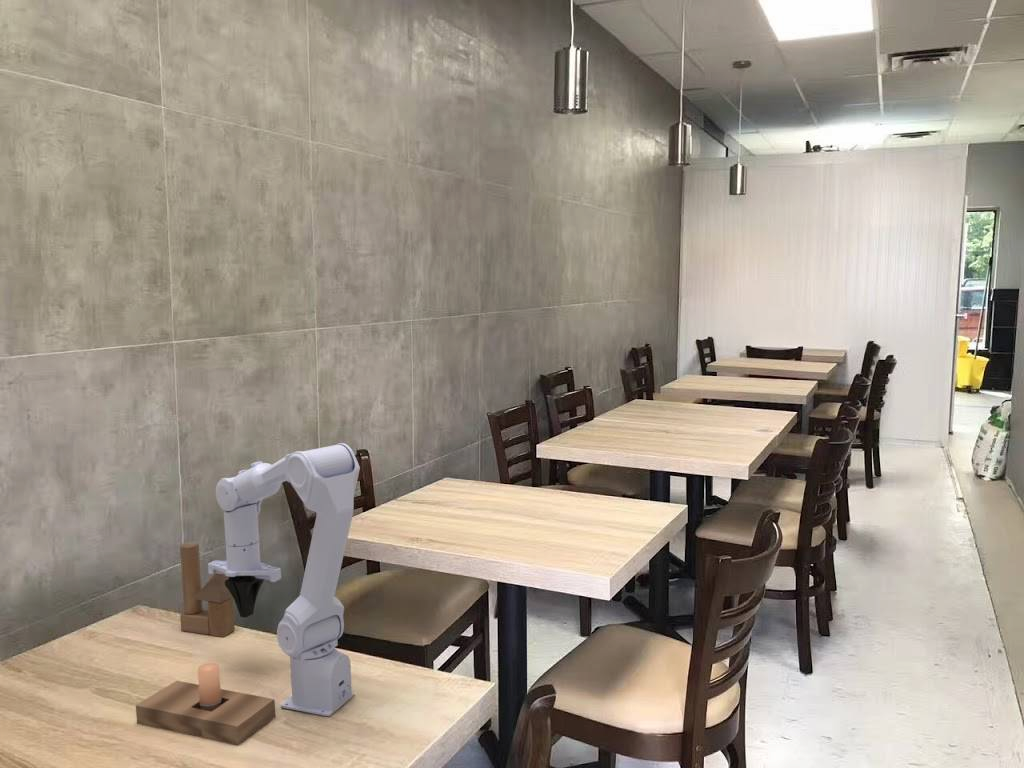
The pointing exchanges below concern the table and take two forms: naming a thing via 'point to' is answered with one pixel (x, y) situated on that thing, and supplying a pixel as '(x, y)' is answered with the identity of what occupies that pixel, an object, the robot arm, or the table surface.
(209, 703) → the peg
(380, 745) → the table surface
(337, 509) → the robot arm
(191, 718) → the board
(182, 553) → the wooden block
